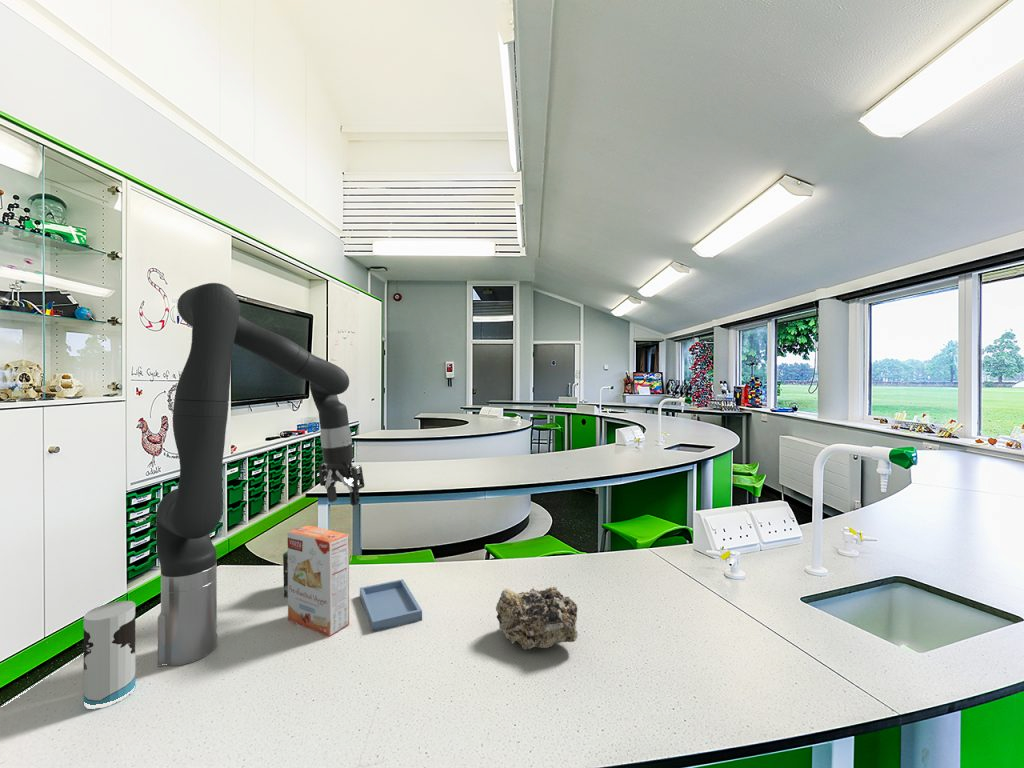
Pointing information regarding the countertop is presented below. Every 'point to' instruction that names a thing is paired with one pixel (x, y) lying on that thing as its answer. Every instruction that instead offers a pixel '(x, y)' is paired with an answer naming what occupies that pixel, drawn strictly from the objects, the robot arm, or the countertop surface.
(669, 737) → the countertop surface
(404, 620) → the tray
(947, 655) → the countertop surface
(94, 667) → the white cylindrical canister
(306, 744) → the countertop surface
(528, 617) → the mineral specimen
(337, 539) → the cracker box
